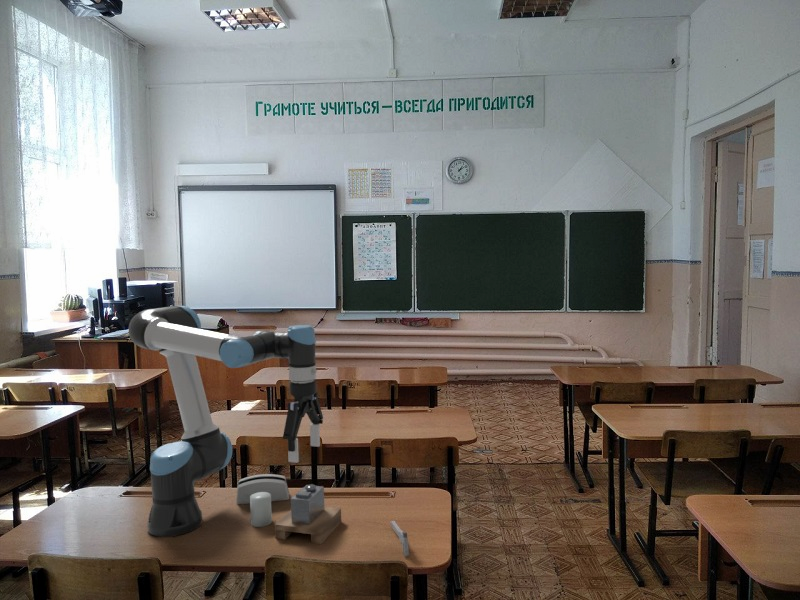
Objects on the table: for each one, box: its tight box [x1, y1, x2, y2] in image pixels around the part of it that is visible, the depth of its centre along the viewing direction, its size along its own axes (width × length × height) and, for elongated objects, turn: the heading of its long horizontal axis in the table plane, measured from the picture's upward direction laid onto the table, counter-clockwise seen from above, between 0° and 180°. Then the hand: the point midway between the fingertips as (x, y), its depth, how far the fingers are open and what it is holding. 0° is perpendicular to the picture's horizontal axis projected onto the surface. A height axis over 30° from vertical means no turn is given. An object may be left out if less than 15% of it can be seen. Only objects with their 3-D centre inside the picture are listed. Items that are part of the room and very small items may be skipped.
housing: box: [290, 483, 325, 525], centre depth 170 cm, size 10×6×8 cm, turn 163°
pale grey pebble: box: [249, 492, 273, 528], centre depth 176 cm, size 6×6×8 cm
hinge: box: [236, 473, 290, 505], centre depth 192 cm, size 17×5×10 cm, turn 99°
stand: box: [274, 506, 342, 545], centre depth 171 cm, size 14×14×4 cm
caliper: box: [389, 520, 410, 558], centre depth 164 cm, size 20×1×6 cm, turn 12°
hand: (304, 453), depth 170 cm, fingers open, 13 cm apart
